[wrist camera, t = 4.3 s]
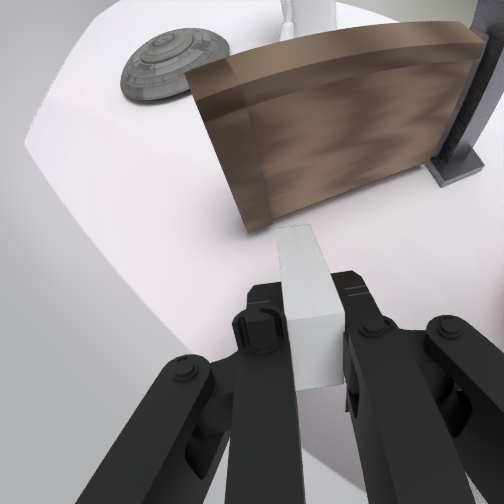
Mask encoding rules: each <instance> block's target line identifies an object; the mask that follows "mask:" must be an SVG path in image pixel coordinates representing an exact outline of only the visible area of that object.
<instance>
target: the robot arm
mask: <svg viewBox="0 0 504 504" xmlns="http://www.w3.org/2000/svg"><path fill="white" fill-rule="evenodd" d="M275 230H276V238H277V247H278V256H279V265H280V274H281V282H275V283H268V284H260V285H254V286H253V287H252V289H251V290H250V291H249V292H248V294H247V307H246V310H243V311H241V312H240V313H239V314H238V315H237V316H236V317H234V320H233V322H232V327H233V330H234V334H235V338H236V342H237V346H238V351H237V352H235V353H234V354H232V355H231V356H229V357H227V358H225V359H222V360H219V361H216V362H212V363H209V361H208V360H206V359H205V358H204V357H203V356H199V355H195V354H192V355H183V356H180V357H176V358H175V359H173V360H171V361H170V362H168V363H167V364H166V366H165V367H164V368H163V369H162V370H161V372H160V373H159V375H158V376H157V378H156V379H155V381H154V383H153V384H152V386H151V387H150V389H149V390H148V392H147V393H146V395H145V396H144V398H143V399H142V401H141V402H140V404H139V405H138V407H137V408H136V410H135V412H134V413H133V415H132V416H131V418H130V419H129V421H128V422H127V424H126V425H125V427H124V428H123V430H122V431H121V433H120V435H119V436H118V438H117V439H116V441H115V442H114V444H113V445H112V447H111V448H110V450H109V452H108V453H107V455H106V456H105V458H104V459H103V461H102V462H101V464H100V465H99V467H98V469H97V470H96V472H95V473H94V475H93V476H92V478H91V480H90V481H89V483H88V484H87V486H86V488H85V489H84V490H83V492H82V494H81V495H80V497H79V498H78V500H77V502H76V503H75V504H203V502H204V499H205V497H206V494H207V492H208V489H209V487H210V485H211V482H212V480H213V478H214V475H215V473H216V470H217V468H218V465H219V463H220V461H221V458H222V456H223V453H224V451H225V448H226V446H227V443H228V441H229V438H230V447H229V458H228V469H227V480H226V492H225V504H306V502H305V489H304V477H303V464H302V452H301V441H300V430H299V419H298V408H297V399H296V391H300V390H307V389H314V388H321V387H327V386H334V385H340V384H344V376H345V380H346V383H347V393H346V410H345V412H349V410H350V415H351V419H352V424H353V428H354V432H355V437H356V442H357V446H358V451H359V456H360V461H361V466H362V471H363V476H364V481H365V486H366V491H367V497H368V502H369V504H476V503H475V500H474V497H473V494H472V491H471V488H470V485H469V483H468V480H467V477H466V474H467V475H468V476H469V478H470V479H471V480H472V482H473V483H474V485H475V486H476V487H477V489H478V490H479V492H480V493H481V494H482V496H483V497H484V499H485V500H486V501H487V503H488V504H504V353H503V352H502V351H501V350H499V349H498V348H497V347H496V346H495V345H494V344H493V343H491V342H490V341H489V340H488V339H487V338H486V337H484V336H483V335H482V334H481V333H480V332H478V331H477V330H476V329H475V328H474V327H472V326H471V325H470V324H469V323H468V322H466V321H465V320H463V319H461V318H460V317H456V316H452V315H441V316H438V317H435V318H433V319H432V320H431V321H429V323H428V325H427V327H426V330H404V329H400V328H398V326H397V325H396V323H395V322H394V321H393V320H392V319H390V318H388V317H386V316H383V315H382V314H381V312H380V310H379V308H378V306H377V305H376V303H375V301H374V299H373V297H372V295H371V293H369V290H368V288H367V286H366V284H365V282H364V280H363V279H362V277H361V276H360V275H358V274H357V273H355V272H354V271H352V270H351V271H345V272H338V273H331V274H330V272H329V270H328V267H327V265H326V262H325V260H324V257H323V255H322V252H321V250H320V247H319V245H318V243H317V240H316V238H315V235H314V233H313V231H312V228H311V226H310V224H306V225H299V226H292V227H285V228H278V229H275ZM464 471H465V472H466V474H465V472H464Z"/></svg>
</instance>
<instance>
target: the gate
mask: <svg viewBox="0 0 504 504" xmlns="http://www.w3.org/2000/svg"><path fill="white" fill-rule="evenodd" d="M488 39H489V36H488V34H487V33H486V32H484V31H483V30H481V29H480V28H477V27H475V26H470V29H469V28H467V27H466V26H465V25H463V24H462V23H461V22H451V21H450V22H449V21H429V22H405V23H389V24H378V25H369V26H361V27H353V28H346V29H340V30H334V31H328V32H322V33H317V34H312V35H307V36H302V37H298V38H293V39H289V40H285V41H281V42H277V43H273V44H269V45H265V46H262V47H258V48H255V49H251V50H248V51H244V52H241V53H238V54H235V55H232V56H229V57H226V58H223V59H220V60H217V61H214V62H211V63H208V64H205V65H203V66H200V67H197V68H195V69H192V70H189V71H187V72H184V75H185V77H186V80H187V82H188V85H189V87H190V90H191V93H192V95H193V98H194V100H195V103H196V105H197V108H198V110H199V112H200V115H201V117H202V120H203V122H204V125H205V127H206V130H207V132H208V135H209V137H210V140H211V142H212V145H213V147H214V150H215V152H216V155H217V157H218V160H219V162H220V165H221V167H222V170H223V172H224V175H225V177H226V180H227V182H228V185H229V187H230V190H231V192H232V195H233V197H234V200H235V202H236V205H237V207H238V210H239V212H240V215H241V217H242V220H243V222H244V225H245V227H246V230H247V232H248V233H250V232H252V231H255V230H257V229H260V228H262V227H265V226H267V225H270V224H273V222H272V220H273V219H276V218H278V217H281V216H283V215H286V214H288V213H291V212H294V211H296V210H299V209H301V208H304V207H307V206H309V205H312V204H314V203H317V202H320V201H322V200H325V199H328V198H330V197H333V196H336V195H338V194H341V193H344V192H346V191H349V190H352V189H354V188H357V187H360V186H362V185H365V184H368V183H370V182H373V181H376V180H379V179H381V178H384V177H387V176H389V175H392V174H395V173H398V172H400V171H403V170H406V169H409V168H412V167H414V166H417V165H420V164H423V163H426V162H428V161H430V159H431V157H436V156H438V154H439V152H440V150H441V148H442V146H443V144H444V142H445V140H446V138H447V136H448V134H449V132H450V130H451V128H452V126H453V124H454V122H455V119H456V117H457V115H458V113H459V111H460V109H461V106H462V104H463V102H464V100H465V97H466V95H467V93H468V90H469V88H470V86H471V83H472V81H473V78H474V76H475V73H476V71H477V68H478V66H479V63H480V61H481V58H482V55H483V53H484V50H485V47H486V44H487V42H488Z"/></svg>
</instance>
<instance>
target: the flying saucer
mask: <svg viewBox="0 0 504 504" xmlns="http://www.w3.org/2000/svg"><path fill="white" fill-rule="evenodd" d="M228 55H229V45H228V43H227V41H226V40H225V39H224V38H222V37H221V36H220V35H218V34H216V33H214V32H212V31H209V30H205V29H199V28H184V29H177V30H173V31H169V32H166V33H163V34H161V35H159V36H157V37H155V38H153V39H151V40H149V41H148V42H146V43H145V44H144V45H142V46H141V47H140V48H139V49H138V50H137V51H136V52H135V53H134V54H133V55H132V56H131V57H130V59H129V60H128V62H127V63H126V65H125V67H124V69H123V72H122V76H121V82H120V86H121V90H122V92H123V93H124V94H125V95H126V96H128V97H130V98H133V99H137V100H154V99H160V98H165V97H169V96H172V95H176V94H178V93H181V92H184V91H186V90H188V89H190V87H189V85H188V82H187V80H186V77H185V75H184V72H187V71H189V70H192V69H195V68H197V67H200V66H203V65H205V64H208V63H211V62H214V61H217V60H220V59H223V58H226V57H228Z"/></svg>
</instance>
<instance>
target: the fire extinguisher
mask: <svg viewBox="0 0 504 504" xmlns="http://www.w3.org/2000/svg"><path fill="white" fill-rule="evenodd" d="M281 6H282V12H283V17H284V22H283V23H282V28H281V33H280V38H279V42H281V41H285V40H289V39H293V38H298V37H302V36H307V35H312V34H317V33H322V32H328V31H334V30H337V22H336V2H335V0H281Z"/></svg>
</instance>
